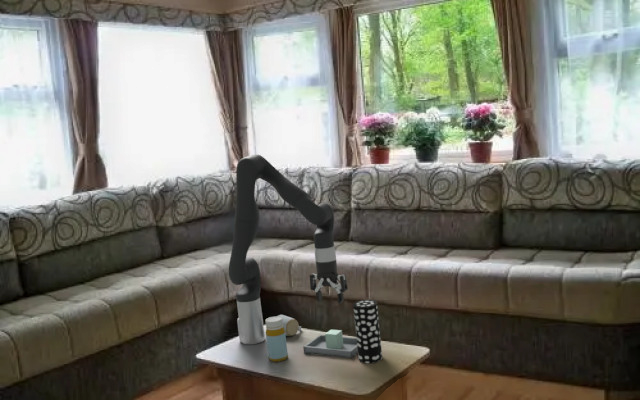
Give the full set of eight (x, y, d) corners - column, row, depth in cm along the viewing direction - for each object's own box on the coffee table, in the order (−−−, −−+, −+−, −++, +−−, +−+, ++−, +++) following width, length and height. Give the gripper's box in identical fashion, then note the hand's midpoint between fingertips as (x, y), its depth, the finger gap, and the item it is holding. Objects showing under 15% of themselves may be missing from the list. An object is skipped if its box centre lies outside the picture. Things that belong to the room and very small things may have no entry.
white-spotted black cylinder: (355, 362, 226) (350, 307, 223) (362, 353, 234) (356, 299, 231) (379, 363, 223) (373, 307, 220) (384, 354, 231) (379, 299, 228)
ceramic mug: (287, 339, 256) (286, 320, 255) (273, 335, 262) (271, 317, 261) (306, 331, 264) (304, 312, 263) (292, 328, 270) (290, 310, 269)
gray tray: (304, 353, 240) (303, 346, 240) (320, 340, 251) (319, 334, 250) (351, 358, 230) (350, 351, 230) (366, 345, 241) (365, 338, 241)
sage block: (326, 349, 240) (325, 333, 239) (332, 344, 244) (331, 329, 243) (337, 350, 237) (336, 334, 237) (343, 345, 241) (341, 330, 240)
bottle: (278, 363, 232) (273, 323, 230) (265, 360, 237) (260, 320, 235) (292, 356, 238) (287, 317, 235) (278, 353, 242) (273, 314, 240)
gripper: (303, 261, 236) (308, 304, 238) (338, 262, 229) (342, 306, 231) (313, 255, 243) (318, 297, 245) (347, 256, 235) (352, 299, 238)
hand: (330, 301), depth 238 cm, fingers open, 8 cm apart
